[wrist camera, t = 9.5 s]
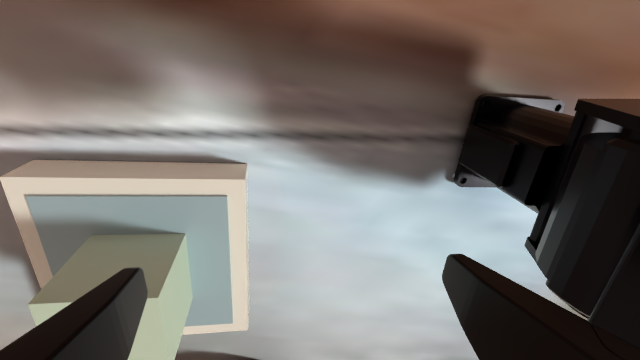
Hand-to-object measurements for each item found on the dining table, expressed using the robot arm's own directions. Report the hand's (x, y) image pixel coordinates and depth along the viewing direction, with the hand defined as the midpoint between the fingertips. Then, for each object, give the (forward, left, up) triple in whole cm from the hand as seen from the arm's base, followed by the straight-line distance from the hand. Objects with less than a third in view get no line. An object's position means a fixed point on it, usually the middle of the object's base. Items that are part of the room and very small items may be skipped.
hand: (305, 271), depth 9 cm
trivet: (+8, +7, -12) cm, 16 cm away
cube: (+8, +7, -9) cm, 14 cm away
